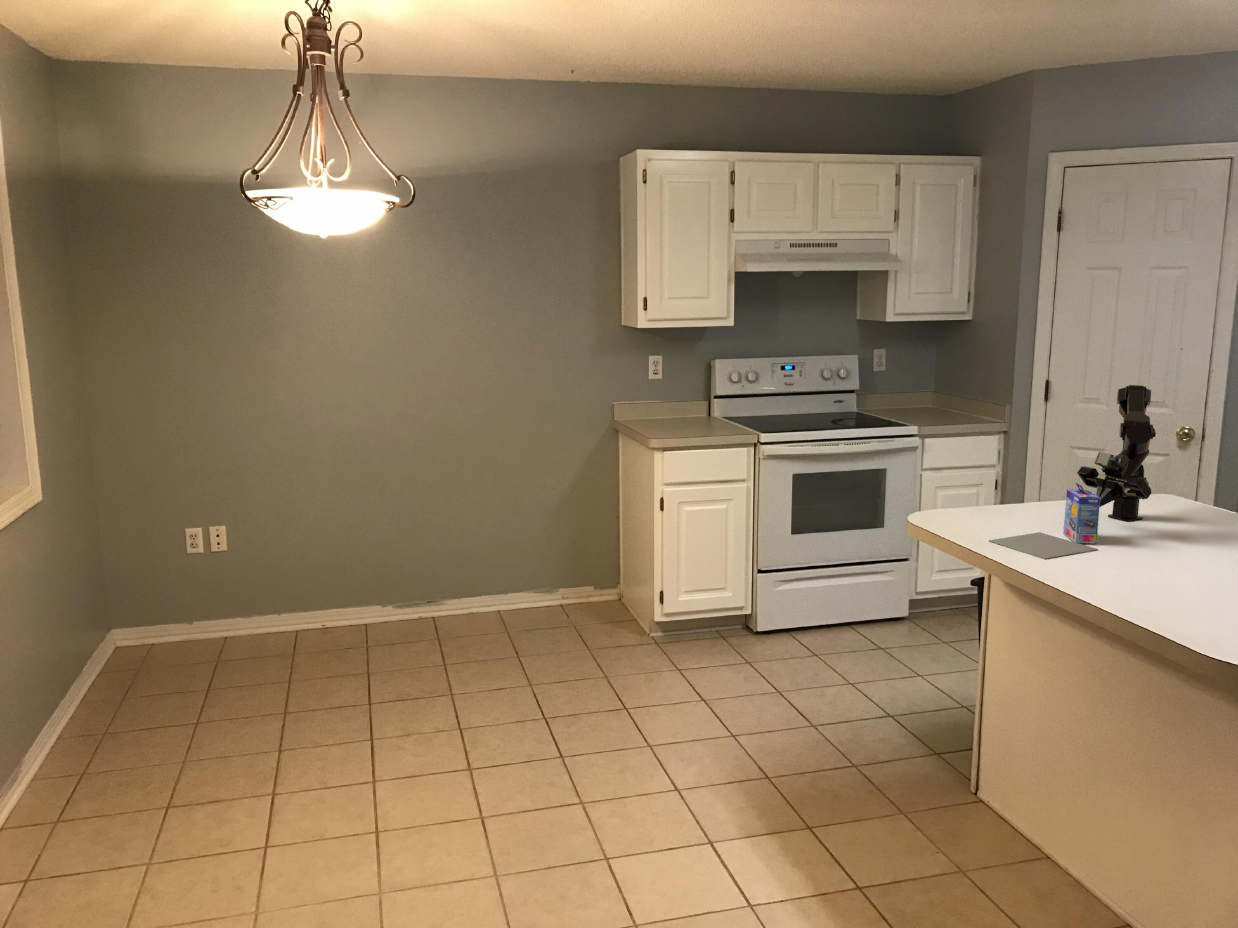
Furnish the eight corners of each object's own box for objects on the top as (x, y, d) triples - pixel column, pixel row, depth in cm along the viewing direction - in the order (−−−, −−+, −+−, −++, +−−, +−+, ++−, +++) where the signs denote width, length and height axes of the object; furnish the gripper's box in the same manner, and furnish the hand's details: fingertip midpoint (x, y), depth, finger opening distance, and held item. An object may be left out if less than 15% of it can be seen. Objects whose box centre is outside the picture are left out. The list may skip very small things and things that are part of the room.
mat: (1039, 533, 261) (1039, 532, 261) (1097, 550, 245) (1097, 548, 245) (988, 541, 253) (988, 540, 253) (1045, 559, 237) (1045, 558, 237)
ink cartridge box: (1061, 533, 259) (1066, 479, 257) (1083, 534, 259) (1088, 480, 256) (1074, 543, 250) (1080, 487, 247) (1097, 544, 249) (1103, 488, 247)
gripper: (1084, 436, 262) (1051, 480, 260) (1148, 447, 245) (1113, 494, 243) (1103, 462, 267) (1070, 506, 264) (1166, 475, 250) (1132, 521, 248)
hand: (1095, 506), depth 255 cm, fingers closed
